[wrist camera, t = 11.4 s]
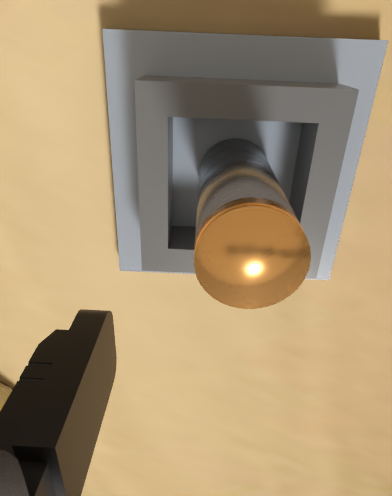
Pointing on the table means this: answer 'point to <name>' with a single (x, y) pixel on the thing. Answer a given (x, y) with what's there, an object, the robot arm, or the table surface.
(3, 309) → the table surface
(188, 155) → the socket
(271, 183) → the cylinder
